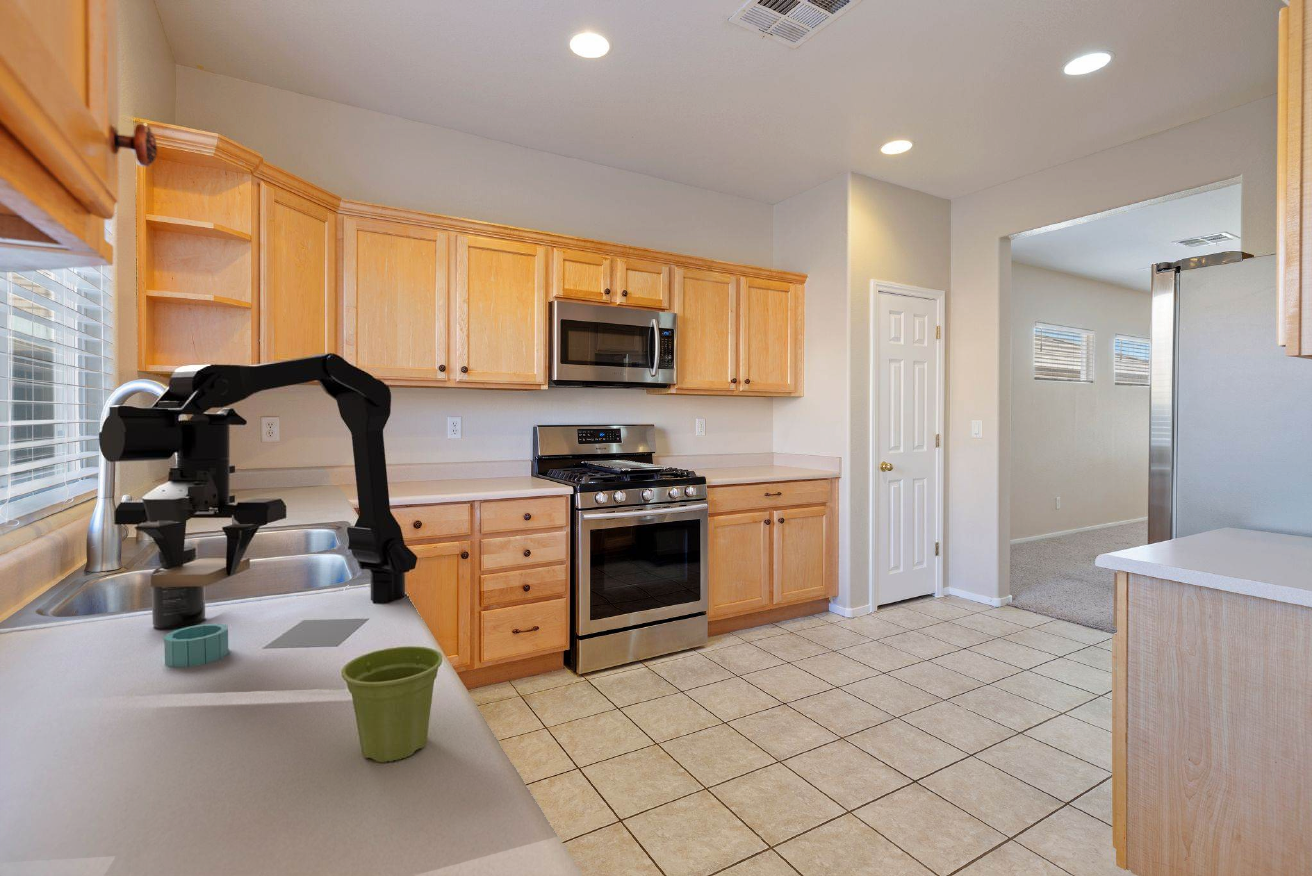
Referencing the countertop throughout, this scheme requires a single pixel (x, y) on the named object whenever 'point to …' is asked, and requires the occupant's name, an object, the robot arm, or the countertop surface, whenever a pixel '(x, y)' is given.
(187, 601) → the supplement bottle
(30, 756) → the countertop surface
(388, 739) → the plant pot
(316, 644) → the trivet
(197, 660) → the ramekin
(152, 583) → the walnut board
